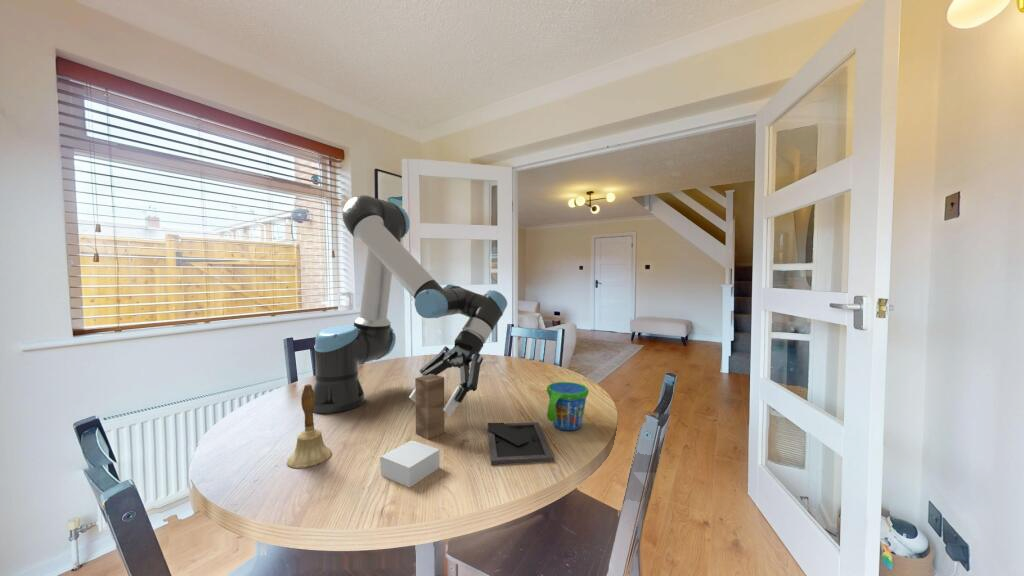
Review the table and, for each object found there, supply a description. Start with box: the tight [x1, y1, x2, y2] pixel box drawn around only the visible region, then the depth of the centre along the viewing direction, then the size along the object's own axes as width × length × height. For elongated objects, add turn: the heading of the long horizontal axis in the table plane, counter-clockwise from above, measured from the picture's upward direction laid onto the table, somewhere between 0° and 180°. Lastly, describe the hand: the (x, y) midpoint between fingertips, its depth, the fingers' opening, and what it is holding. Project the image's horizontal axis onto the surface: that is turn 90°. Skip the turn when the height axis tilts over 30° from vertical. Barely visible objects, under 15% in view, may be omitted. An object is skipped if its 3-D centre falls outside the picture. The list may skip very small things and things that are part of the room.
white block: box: [380, 440, 440, 489], centre depth 69 cm, size 8×8×4 cm
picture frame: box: [487, 421, 555, 466], centre depth 81 cm, size 13×2×18 cm
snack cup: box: [546, 381, 590, 431], centre depth 91 cm, size 16×10×10 cm
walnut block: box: [414, 374, 445, 441], centre depth 86 cm, size 5×5×14 cm
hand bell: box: [286, 383, 333, 469], centre depth 74 cm, size 8×8×16 cm
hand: (429, 406), depth 86 cm, fingers open, 13 cm apart
